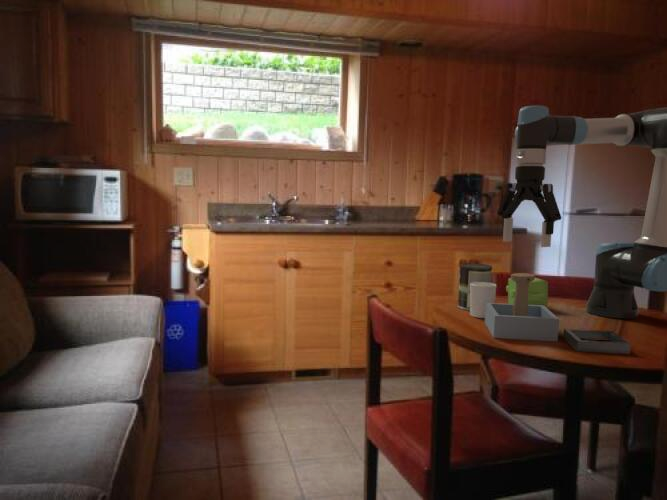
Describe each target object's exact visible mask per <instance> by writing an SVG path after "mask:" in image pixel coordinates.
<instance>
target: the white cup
mask: <svg viewBox="0 0 667 500" xmlns="http://www.w3.org/2000/svg"><path fill="white" fill-rule="evenodd" d="M496 291H497V284H496V283H493V282H491V283H488V282H471V283H470V311H469V316H470V317H474V318H479V319H485V309H486V303H495V299H496Z"/></svg>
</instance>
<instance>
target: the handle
mask: <svg viewBox="0 0 667 500" xmlns="http://www.w3.org/2000/svg"><path fill="white" fill-rule="evenodd" d="M510 278H511V279H512V280H513V281H515V282H516V289H515V297H514V305H513V316H528V287H529V283H530V282H532V281H533V280H535V278H536V275H535V274H532V273H524V272H517V273H510Z"/></svg>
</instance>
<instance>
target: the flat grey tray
mask: <svg viewBox="0 0 667 500" xmlns="http://www.w3.org/2000/svg"><path fill="white" fill-rule="evenodd" d="M562 335H563V336H562V337H563V339H564V340H565V341H566V342H567V343H568V344H569V345H570V346H572V348H574V349H575V350H576V351H577V352H583V353H584V352H585V353H589V352H590V353H602V354H603V353H604V354H605V353H606V354H607V353H608V354H620V355H622V354H623V355H630V354H631V345H632V344H631V343H630V342H628V341H627V340H626V339H625V338H623V337H621V336H620V335H619V334H617V333H616V332H614V331H612V330H599V329H583V328H582V329H581V328H563V333H562ZM581 339H585V340H581ZM591 339H609V340H610V342H609V341H596V340H591Z"/></svg>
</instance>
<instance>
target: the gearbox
mask: <svg viewBox="0 0 667 500" xmlns="http://www.w3.org/2000/svg"><path fill="white" fill-rule="evenodd" d="M507 282H508V283H507V285H506V287H505V290H506V292H507V304H514V297H515V289H516V282H515V281H513V280H512V279H511V277H510V278H508V280H507ZM548 298H549V281H547V280H545V279H541V278H538V277H535V280H533V281H532V282H530V283H529V287H528V305H542V306H545V307H546V308H547V309H548V304H549V303H548Z"/></svg>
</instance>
